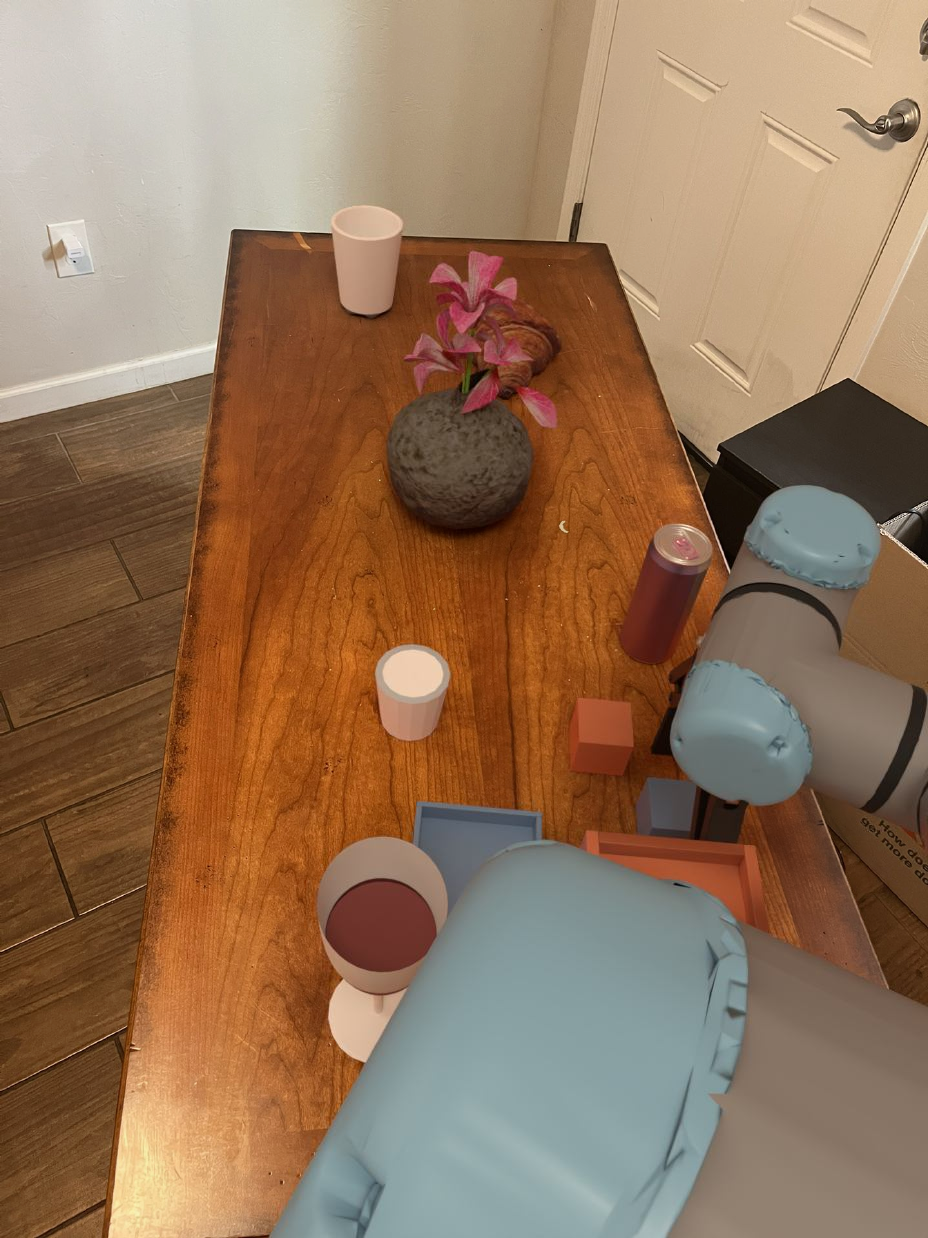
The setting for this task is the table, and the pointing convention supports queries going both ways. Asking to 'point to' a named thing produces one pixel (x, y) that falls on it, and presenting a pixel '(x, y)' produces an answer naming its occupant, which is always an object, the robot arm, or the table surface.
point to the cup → (366, 257)
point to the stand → (691, 867)
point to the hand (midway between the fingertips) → (671, 817)
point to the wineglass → (376, 932)
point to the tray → (468, 838)
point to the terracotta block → (601, 736)
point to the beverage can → (665, 592)
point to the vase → (465, 412)
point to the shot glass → (411, 690)
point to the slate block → (666, 808)
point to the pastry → (532, 338)
